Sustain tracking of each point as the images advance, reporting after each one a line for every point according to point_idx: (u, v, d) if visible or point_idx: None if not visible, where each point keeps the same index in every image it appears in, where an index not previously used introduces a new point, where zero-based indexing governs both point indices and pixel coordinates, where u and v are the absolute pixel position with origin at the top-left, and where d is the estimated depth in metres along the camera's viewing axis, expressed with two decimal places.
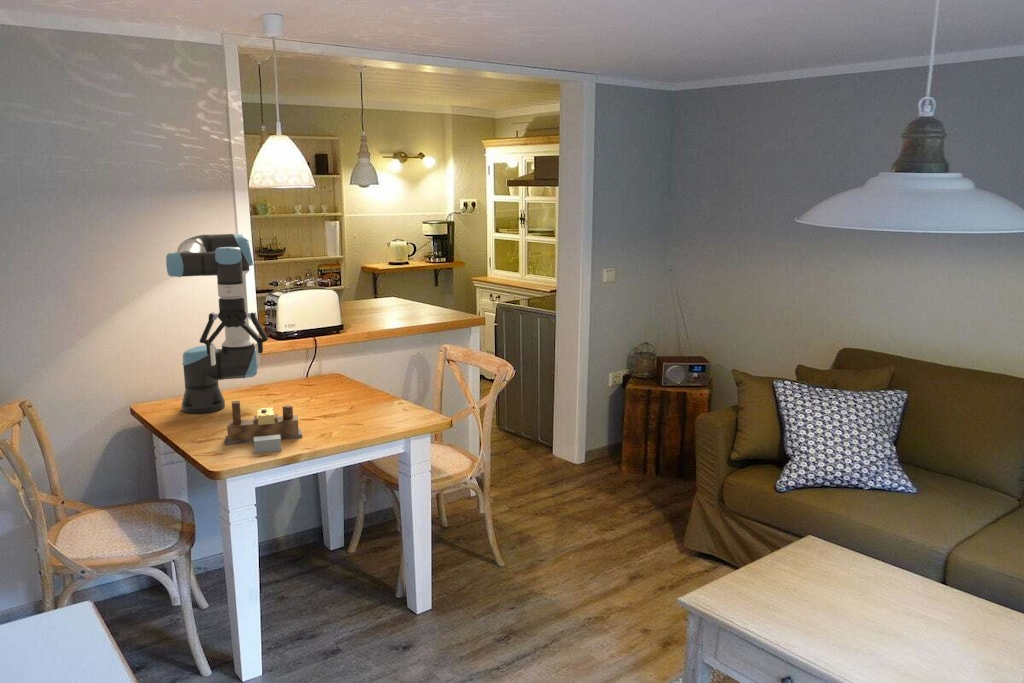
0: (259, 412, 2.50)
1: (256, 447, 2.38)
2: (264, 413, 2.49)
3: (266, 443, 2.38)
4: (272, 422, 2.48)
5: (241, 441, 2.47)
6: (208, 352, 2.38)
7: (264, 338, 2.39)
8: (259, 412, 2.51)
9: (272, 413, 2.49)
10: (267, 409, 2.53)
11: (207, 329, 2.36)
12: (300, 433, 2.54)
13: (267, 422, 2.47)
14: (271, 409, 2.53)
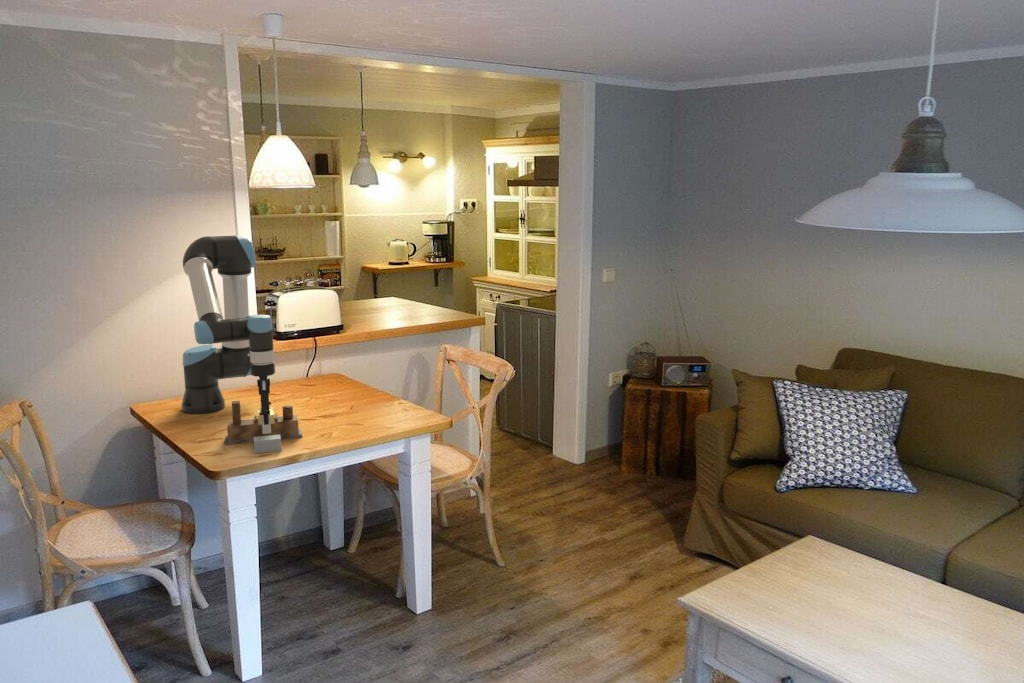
0: (259, 412, 2.50)
1: (256, 447, 2.38)
2: None
3: (266, 443, 2.38)
4: (272, 422, 2.48)
5: (241, 441, 2.47)
6: None
7: None
8: (259, 412, 2.51)
9: (272, 413, 2.49)
10: None
11: None
12: (300, 433, 2.54)
13: None
14: (271, 409, 2.53)
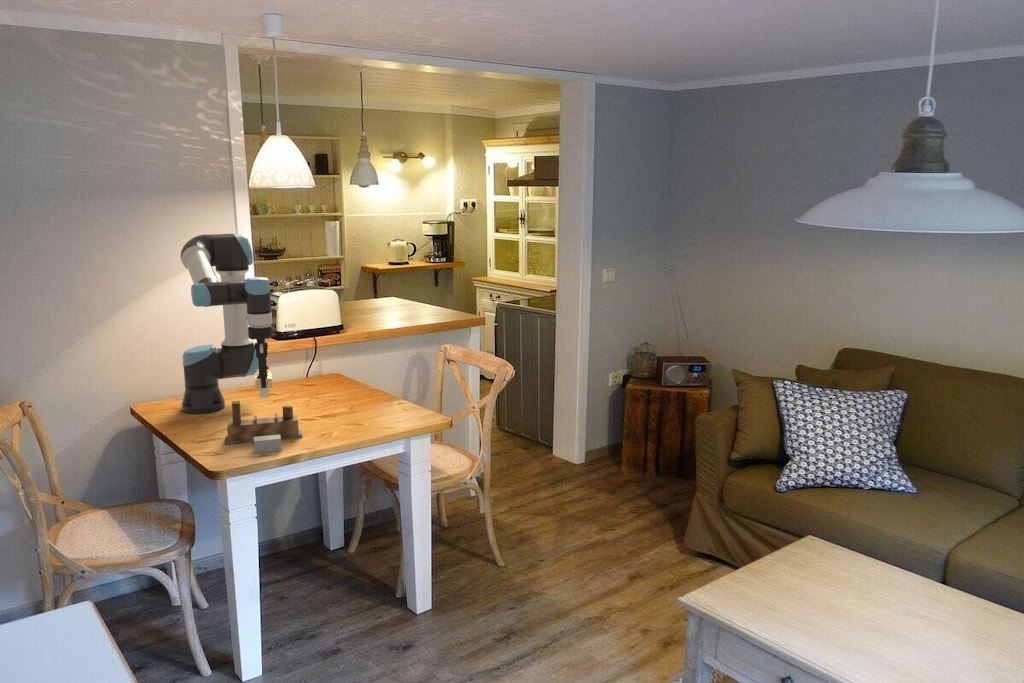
0: None
1: (256, 447, 2.38)
2: None
3: (266, 443, 2.38)
4: (270, 386, 2.46)
5: (241, 441, 2.47)
6: None
7: None
8: (257, 375, 2.48)
9: (270, 377, 2.47)
10: None
11: None
12: (300, 433, 2.54)
13: None
14: (269, 373, 2.51)
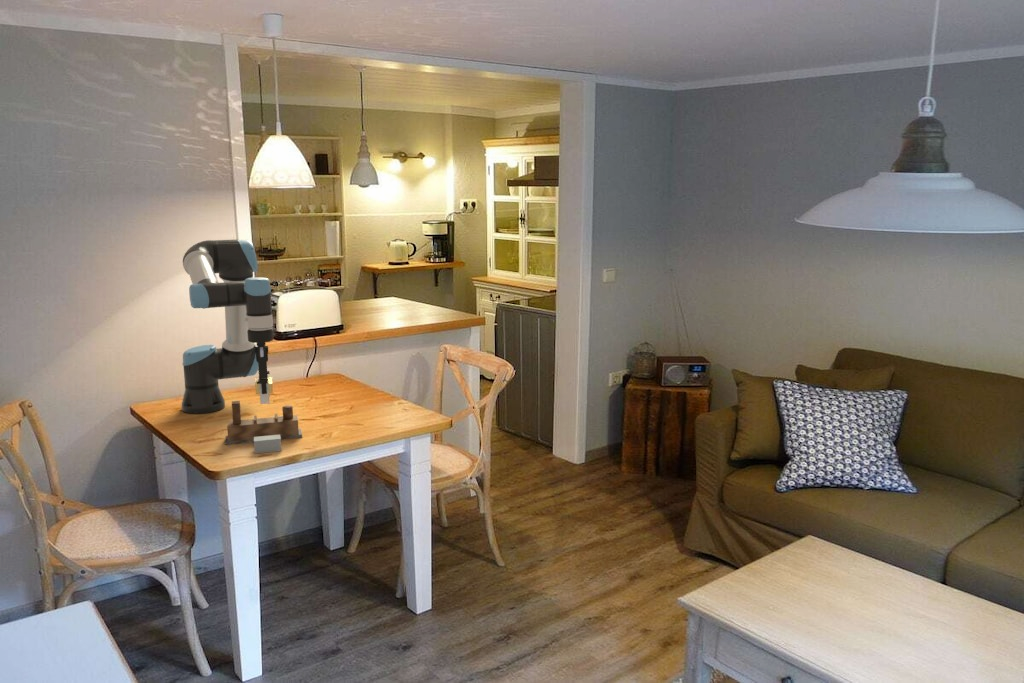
0: None
1: (256, 447, 2.38)
2: None
3: (266, 443, 2.38)
4: (270, 391, 2.33)
5: (241, 441, 2.47)
6: None
7: (259, 379, 2.29)
8: None
9: (270, 382, 2.35)
10: (265, 378, 2.39)
11: None
12: (300, 433, 2.54)
13: None
14: (269, 378, 2.39)
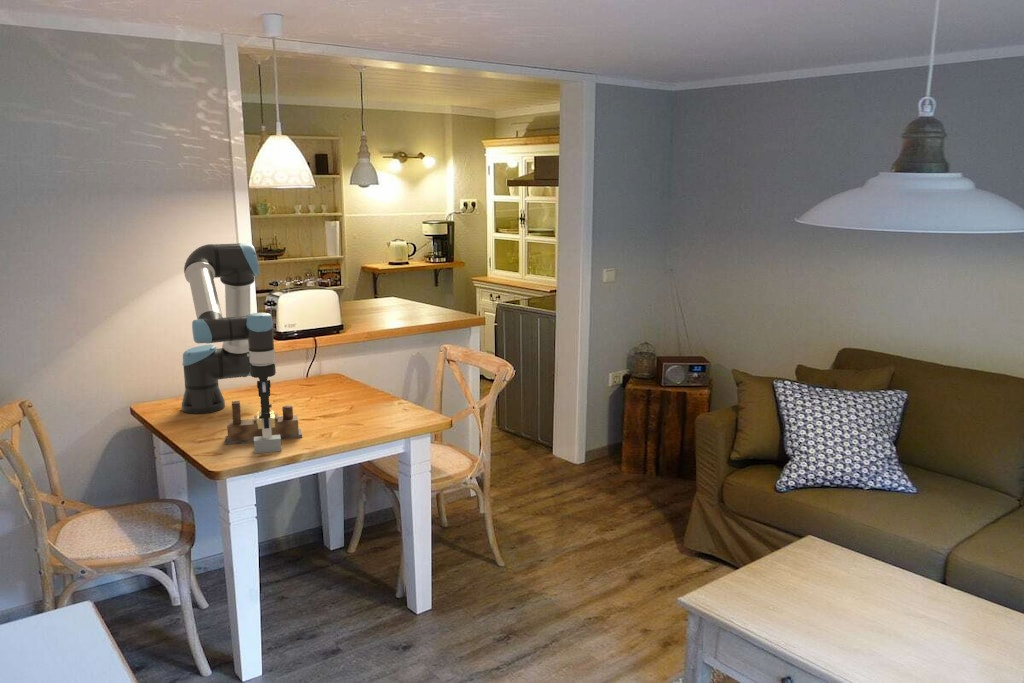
0: (259, 415, 2.38)
1: (256, 447, 2.38)
2: None
3: (266, 443, 2.38)
4: (273, 426, 2.36)
5: (241, 441, 2.47)
6: None
7: None
8: (259, 415, 2.38)
9: (273, 416, 2.37)
10: None
11: None
12: (300, 433, 2.54)
13: None
14: (272, 412, 2.41)
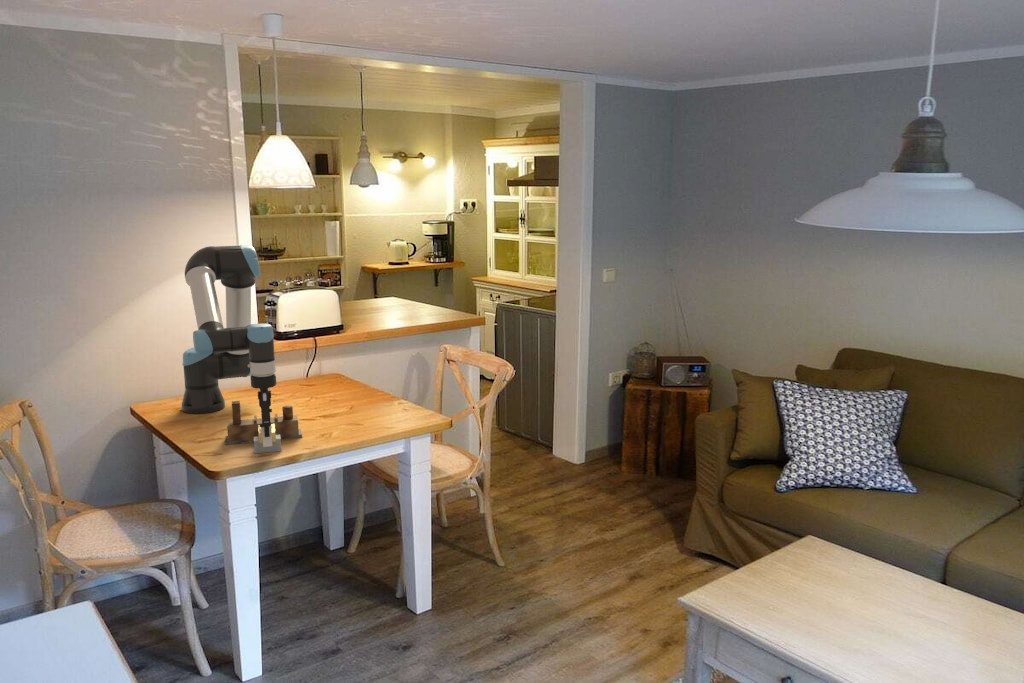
0: (260, 429, 2.39)
1: (256, 447, 2.38)
2: None
3: None
4: (273, 440, 2.37)
5: (241, 441, 2.47)
6: None
7: (262, 423, 2.30)
8: (260, 429, 2.39)
9: (273, 430, 2.38)
10: None
11: None
12: (300, 433, 2.54)
13: None
14: (272, 426, 2.42)
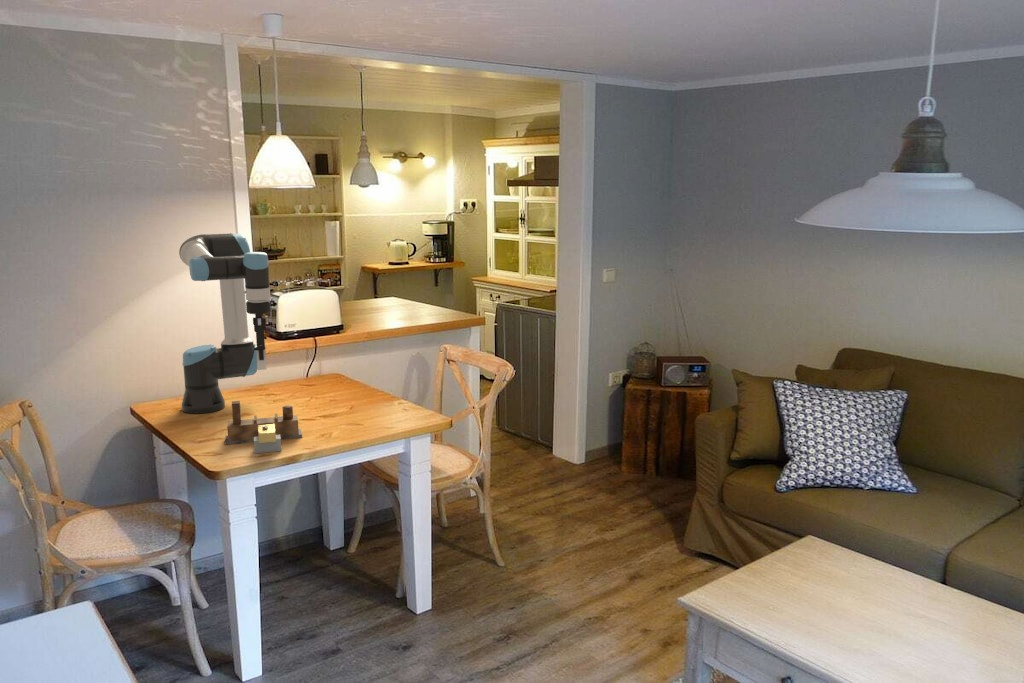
0: (260, 429, 2.39)
1: (256, 447, 2.38)
2: (265, 430, 2.38)
3: (266, 443, 2.38)
4: (273, 440, 2.37)
5: (241, 441, 2.47)
6: None
7: (256, 346, 2.40)
8: (260, 429, 2.39)
9: (273, 430, 2.38)
10: (268, 426, 2.42)
11: None
12: (300, 433, 2.54)
13: (268, 440, 2.36)
14: (272, 426, 2.42)
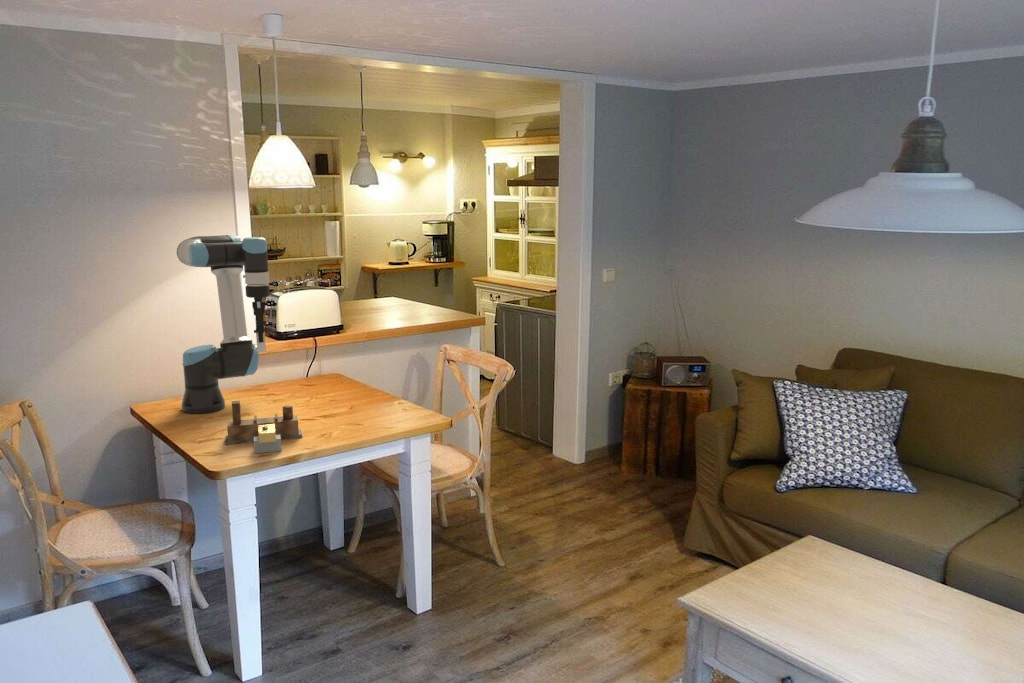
0: (260, 429, 2.39)
1: (256, 447, 2.38)
2: (265, 430, 2.38)
3: (266, 443, 2.38)
4: (273, 440, 2.37)
5: (241, 441, 2.47)
6: None
7: (256, 328, 2.45)
8: (260, 429, 2.39)
9: (273, 430, 2.38)
10: (268, 426, 2.42)
11: None
12: (300, 433, 2.54)
13: (268, 440, 2.36)
14: (272, 426, 2.42)
